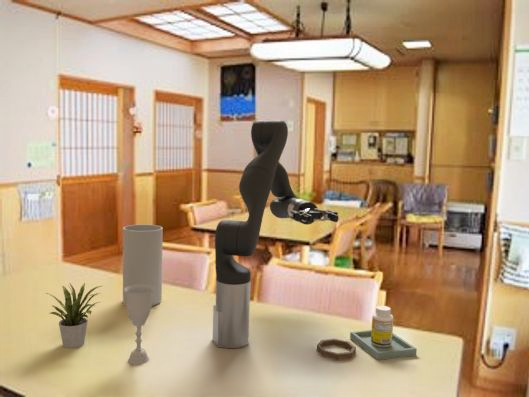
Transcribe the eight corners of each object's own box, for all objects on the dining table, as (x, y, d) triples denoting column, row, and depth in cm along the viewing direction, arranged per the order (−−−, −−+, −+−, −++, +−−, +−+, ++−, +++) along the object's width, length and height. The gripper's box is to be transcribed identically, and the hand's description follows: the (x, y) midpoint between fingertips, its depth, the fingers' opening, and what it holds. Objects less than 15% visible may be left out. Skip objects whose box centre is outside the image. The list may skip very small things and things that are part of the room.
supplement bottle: (376, 338, 139) (378, 303, 138) (395, 344, 135) (397, 307, 134) (367, 344, 134) (369, 307, 133) (385, 350, 131) (388, 312, 130)
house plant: (118, 339, 133) (118, 280, 131) (83, 359, 120) (83, 294, 118) (74, 330, 138) (74, 273, 136) (37, 349, 125) (36, 287, 123)
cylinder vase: (169, 300, 166) (170, 227, 163) (141, 310, 156) (142, 232, 153) (143, 293, 173) (143, 223, 170) (114, 302, 162) (114, 227, 159)
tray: (377, 360, 126) (378, 353, 126) (350, 338, 140) (350, 332, 140) (416, 355, 130) (416, 348, 130) (385, 334, 144) (385, 328, 143)
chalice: (145, 367, 117) (145, 294, 115) (118, 364, 118) (118, 291, 116) (157, 355, 124) (158, 285, 122) (132, 351, 126) (133, 283, 123)
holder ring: (327, 361, 124) (328, 355, 124) (311, 346, 133) (312, 340, 133) (361, 357, 127) (361, 351, 127) (343, 342, 136) (343, 337, 136)
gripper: (282, 200, 160) (302, 206, 145) (322, 200, 165) (345, 206, 150) (281, 222, 161) (301, 231, 146) (321, 222, 166) (344, 230, 151)
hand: (324, 219), depth 148 cm, fingers open, 8 cm apart
